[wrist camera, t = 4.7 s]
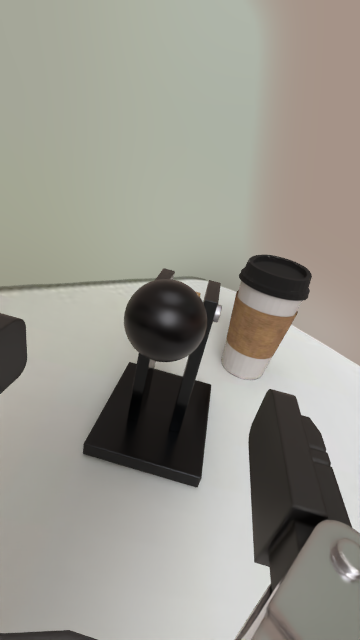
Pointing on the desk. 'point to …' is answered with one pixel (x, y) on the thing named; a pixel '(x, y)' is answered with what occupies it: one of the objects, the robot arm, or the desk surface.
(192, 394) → the black lever stand
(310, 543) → the robot arm
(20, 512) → the desk surface
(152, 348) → the black ball knob lever
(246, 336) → the coffee cup
